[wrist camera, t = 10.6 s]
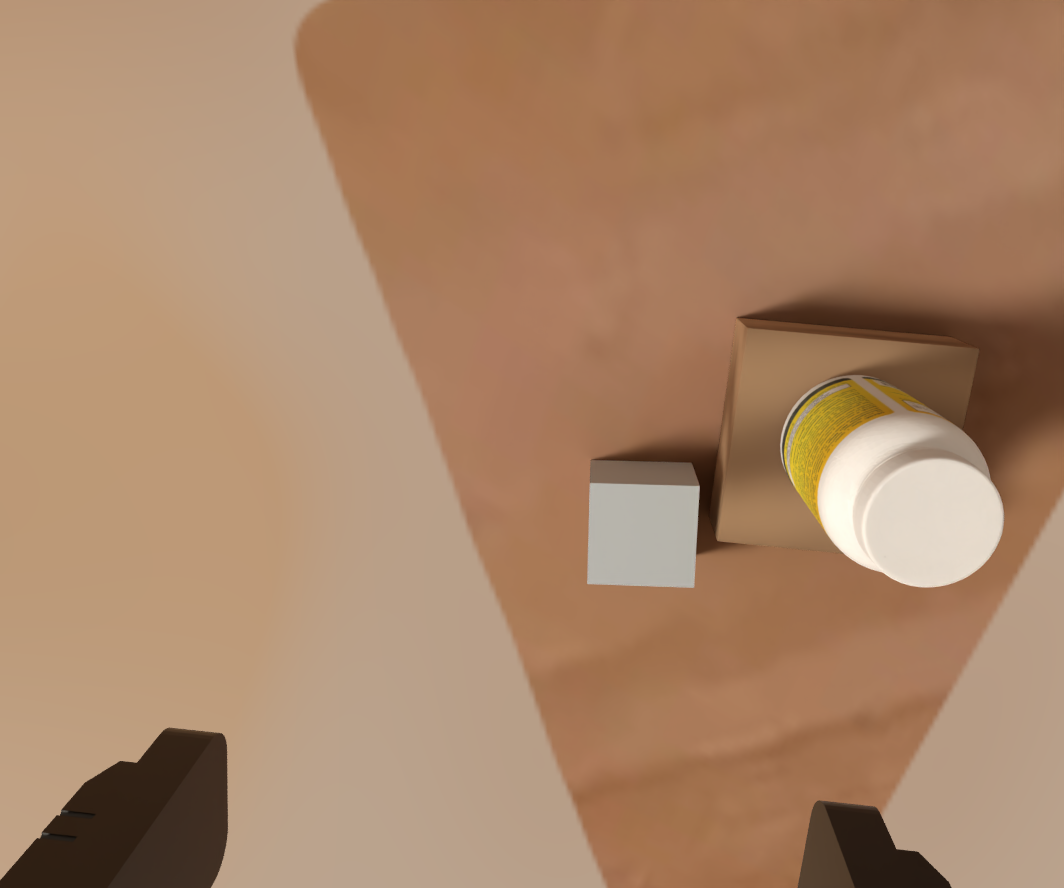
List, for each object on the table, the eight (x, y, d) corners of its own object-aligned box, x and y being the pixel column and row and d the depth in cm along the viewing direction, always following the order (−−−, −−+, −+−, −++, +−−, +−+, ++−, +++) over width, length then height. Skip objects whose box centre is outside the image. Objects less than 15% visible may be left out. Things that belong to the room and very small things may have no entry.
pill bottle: (778, 509, 43) (837, 613, 32) (776, 376, 41) (838, 441, 31) (917, 502, 43) (1023, 606, 32) (921, 367, 41) (1034, 430, 30)
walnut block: (736, 317, 44) (747, 327, 41) (950, 336, 44) (979, 348, 41) (709, 515, 47) (717, 541, 44) (910, 535, 47) (934, 562, 43)
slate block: (590, 458, 47) (590, 482, 43) (691, 461, 47) (699, 486, 43) (588, 552, 48) (587, 583, 44) (686, 555, 48) (693, 587, 44)
